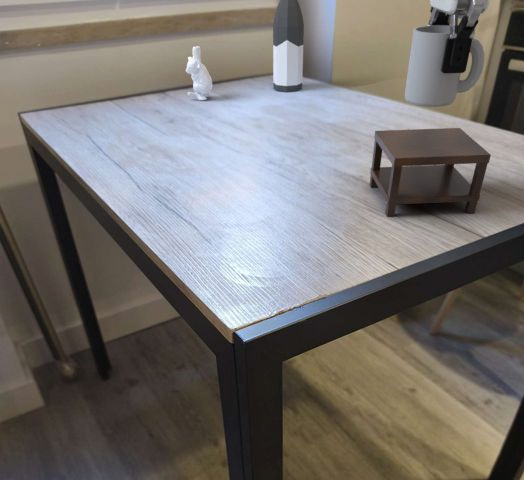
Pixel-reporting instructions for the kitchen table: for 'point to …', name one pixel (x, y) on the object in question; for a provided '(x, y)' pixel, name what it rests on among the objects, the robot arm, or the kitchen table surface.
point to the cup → (437, 68)
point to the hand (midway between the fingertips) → (443, 65)
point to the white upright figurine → (199, 76)
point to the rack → (427, 167)
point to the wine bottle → (288, 46)
